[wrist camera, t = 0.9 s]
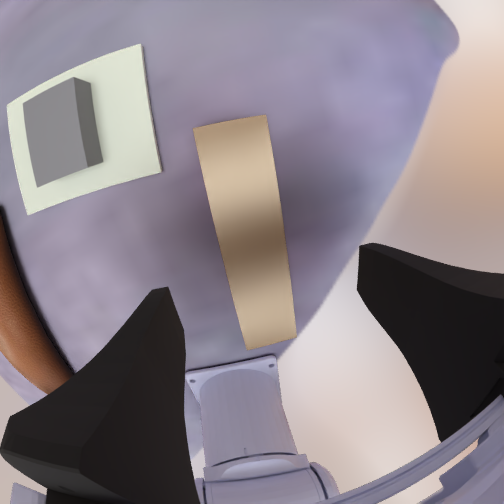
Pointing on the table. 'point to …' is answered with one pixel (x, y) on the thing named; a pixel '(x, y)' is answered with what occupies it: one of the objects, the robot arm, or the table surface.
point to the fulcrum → (84, 130)
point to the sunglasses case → (25, 329)
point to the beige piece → (249, 225)
